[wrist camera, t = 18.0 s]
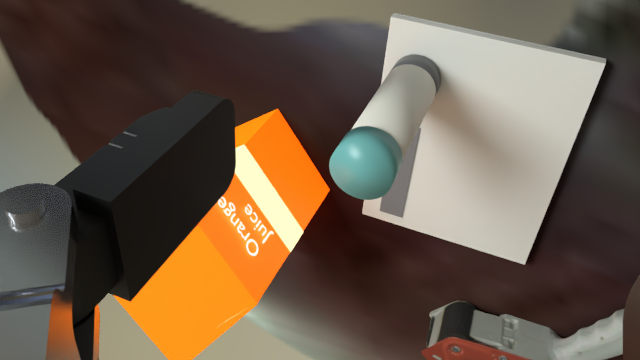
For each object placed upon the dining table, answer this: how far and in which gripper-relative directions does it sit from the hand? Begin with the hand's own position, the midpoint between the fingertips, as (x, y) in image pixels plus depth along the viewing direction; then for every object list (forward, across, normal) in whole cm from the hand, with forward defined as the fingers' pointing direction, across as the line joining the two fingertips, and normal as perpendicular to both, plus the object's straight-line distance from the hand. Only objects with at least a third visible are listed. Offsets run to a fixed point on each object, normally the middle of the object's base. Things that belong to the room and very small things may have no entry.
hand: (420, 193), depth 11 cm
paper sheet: (+30, +1, +18) cm, 35 cm away
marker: (+29, +6, +13) cm, 32 cm away
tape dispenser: (+31, -10, +36) cm, 48 cm away
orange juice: (+30, +17, +25) cm, 43 cm away
